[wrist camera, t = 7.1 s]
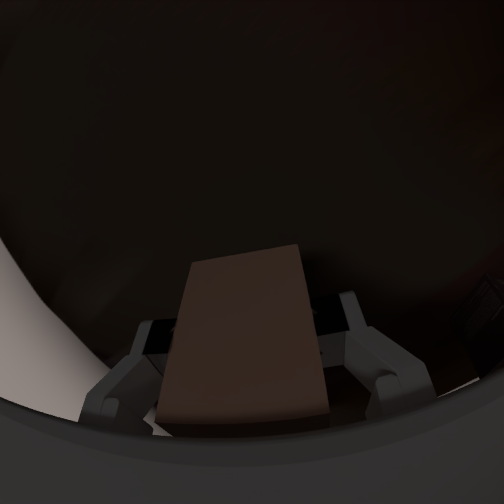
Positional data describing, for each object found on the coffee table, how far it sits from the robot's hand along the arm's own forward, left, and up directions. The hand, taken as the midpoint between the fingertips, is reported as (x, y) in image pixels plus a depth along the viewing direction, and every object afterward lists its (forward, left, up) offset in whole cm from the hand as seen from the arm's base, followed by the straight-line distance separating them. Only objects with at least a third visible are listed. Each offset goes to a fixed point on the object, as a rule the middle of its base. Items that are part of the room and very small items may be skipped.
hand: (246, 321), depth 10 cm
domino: (0, 0, -3) cm, 3 cm away
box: (+12, +20, -7) cm, 25 cm away
